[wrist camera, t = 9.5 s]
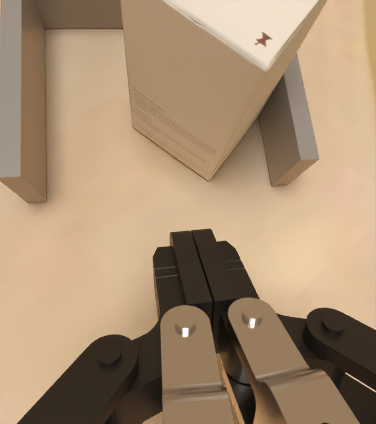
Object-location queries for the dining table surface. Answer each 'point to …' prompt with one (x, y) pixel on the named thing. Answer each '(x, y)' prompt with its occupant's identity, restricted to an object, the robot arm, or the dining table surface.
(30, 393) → the dining table surface
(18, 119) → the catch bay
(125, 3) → the supplement box
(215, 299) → the robot arm
